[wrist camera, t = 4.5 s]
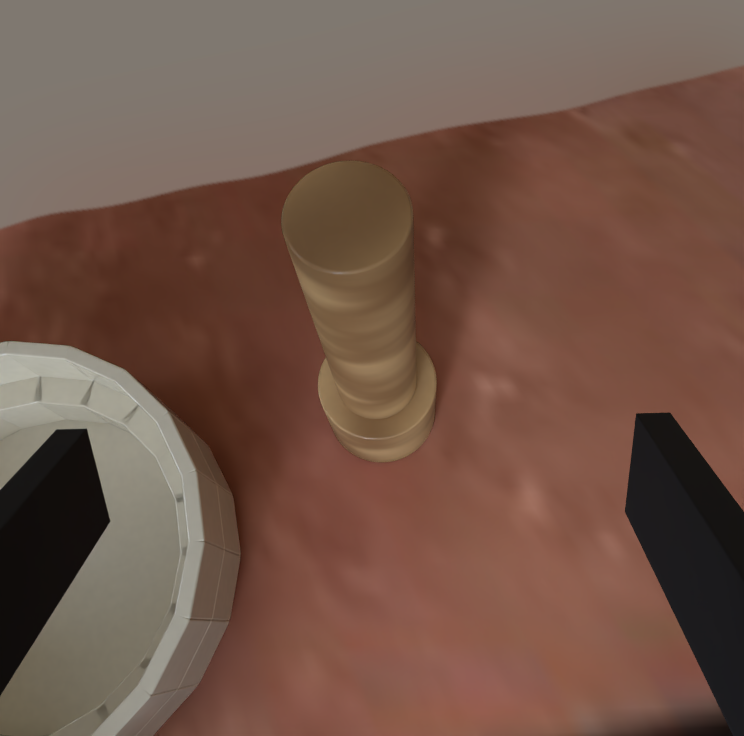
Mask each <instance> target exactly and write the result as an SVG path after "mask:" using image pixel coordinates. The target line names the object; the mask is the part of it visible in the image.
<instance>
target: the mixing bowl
mask: <svg viewBox="0 0 744 736" xmlns="http://www.w3.org/2000/svg"><path fill="white" fill-rule="evenodd" d="M56 429H87V431H88V435H89V439H90V443H91V447H92V451H93V455H94V459H95V462H96V466H97V470H98V474H99V478H100V482H101V486H102V490H103V494H104V498H105V502H106V506H107V510H108V514H109V518H110V523H109V524H108V526H107V528H106V529H105V531H104V532H103V534H102V536H101V537H100V539H99V540H98V542H97V543H96V545H95V547H94V548H93V550H92V551H91V553H90V555H89V556H88V558H87V559H86V561H85V562H84V564H83V566H82V567H81V569H80V570H79V572H78V574H77V575H76V577H75V578H74V580H73V582H72V583H71V585H70V586H69V588H68V589H67V591H66V593H65V594H64V596H63V597H62V599H61V601H60V602H59V604H58V605H57V607H56V608H55V610H54V612H53V613H52V615H51V616H50V618H49V620H48V621H47V623H46V624H45V626H44V627H43V629H42V631H41V632H40V634H39V635H38V637H37V639H36V640H35V642H34V643H33V645H32V646H31V648H30V650H29V651H28V653H27V654H26V656H25V658H24V659H23V661H22V662H21V664H20V666H19V667H18V669H17V670H16V672H15V673H14V675H13V677H12V678H11V680H10V681H9V683H8V685H7V686H6V688H5V689H4V691H3V692H2V694H1V696H0V736H153V735H154V734H155V733H156V732H157V731H158V730H159V728H160V727H161V726H162V725H163V724H164V723H165V722H166V721H167V720H168V718H169V717H170V716H171V715H172V714H173V713H174V712H175V711H176V710H177V708H178V707H179V706H180V705H181V704H182V703H183V702H184V701H185V700H186V698H187V697H188V696H189V695H190V694H191V693H192V692H193V691H194V690H195V688H196V687H197V686H198V684H199V683H200V681H201V679H202V677H203V675H204V673H205V671H206V669H207V667H208V665H209V663H210V661H211V659H212V657H213V655H214V653H215V651H216V648H217V646H218V644H219V642H220V640H221V638H222V636H223V634H224V632H225V630H226V628H227V626H228V624H229V620H230V617H231V611H232V605H233V599H234V594H235V588H236V582H237V576H238V570H239V564H240V558H241V557H240V555H241V551H240V544H239V536H238V529H237V521H236V514H235V506H234V499H233V496H232V492H231V490H230V488H229V486H228V484H227V482H226V480H225V478H224V476H223V474H222V472H221V470H220V468H219V466H218V464H217V462H216V460H215V458H214V456H213V454H212V452H211V450H210V448H209V446H208V445H207V444H206V443H205V442H204V441H203V440H202V439H201V438H200V437H199V436H198V435H197V434H196V433H195V432H194V431H193V430H192V429H191V428H190V427H189V426H188V425H187V424H186V423H185V422H184V421H183V420H181V419H180V418H179V417H178V416H177V415H176V414H175V413H174V412H173V411H172V410H171V409H170V408H169V407H168V406H167V405H165V404H164V403H163V402H162V401H161V400H160V399H159V398H157V397H156V396H155V395H154V394H153V393H152V392H151V391H149V390H148V389H147V388H146V387H145V386H144V385H143V384H141V383H140V382H139V381H138V380H137V379H136V378H135V377H134V376H132V375H131V374H130V373H129V372H128V371H127V370H125V369H123V368H121V367H119V366H116V365H114V364H112V363H110V362H107V361H105V360H103V359H100V358H98V357H96V356H93V355H91V354H89V353H87V352H84V351H82V350H80V349H77V348H75V347H73V346H69V345H56V344H44V343H31V342H19V341H5V342H1V343H0V490H1V488H2V487H3V486H4V485H5V484H6V483H7V482H8V481H9V480H10V479H11V478H12V477H13V476H14V475H15V473H16V472H17V471H18V470H19V469H20V468H21V467H22V466H23V465H24V464H25V463H26V462H27V461H28V459H29V458H30V457H31V456H32V455H33V454H34V453H35V452H36V451H37V450H38V449H39V448H40V447H41V445H42V444H43V443H44V442H45V441H46V440H47V439H48V438H49V437H50V436H51V435H52V434H53V433H54V432H55V430H56Z"/></svg>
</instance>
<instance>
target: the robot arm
mask: <svg viewBox="0 0 744 736" xmlns="http://www.w3.org/2000/svg"><path fill="white" fill-rule="evenodd" d="M625 513H626V515H627V517H628V519H629V521H630V523H631V525H632V527H633V529H634V531H635V533H636V536H637V538H638V540H639V542H640V544H641V546H642V548H643V550H644V552H645V554H646V556H647V558H648V560H649V562H650V564H651V567H652V569H653V571H654V573H655V575H656V577H657V579H658V581H659V583H660V585H661V587H662V589H663V591H664V593H665V595H666V598H667V600H668V602H669V604H670V606H671V608H672V610H673V612H674V614H675V616H676V618H677V620H678V622H679V624H680V626H681V629H682V631H683V633H684V635H685V637H686V639H687V641H688V643H689V645H690V647H691V649H692V651H693V653H694V655H695V657H696V660H697V662H698V664H699V666H700V668H701V670H702V672H703V674H704V676H705V678H706V680H707V682H708V684H709V686H710V689H711V691H712V693H713V695H714V697H715V699H716V701H717V703H718V705H719V707H720V709H721V711H722V713H723V715H724V717H725V720H726V722H727V724H728V726H729V728H730V730H731V732H732V734H733V736H744V512H743V510H742V509H741V507H740V506H739V505H738V503H737V502H736V501H735V499H734V498H733V497H732V495H731V494H730V493H729V491H728V490H727V489H726V487H725V486H724V485H723V483H722V482H721V481H720V479H719V478H718V477H717V475H716V474H715V473H714V471H713V470H712V468H711V467H710V466H709V464H708V463H707V462H706V460H705V459H704V458H703V456H702V455H701V454H700V452H699V451H698V450H697V448H696V447H695V446H694V444H693V443H692V442H691V440H690V439H689V438H688V436H687V435H686V434H685V432H684V431H683V430H682V428H681V427H680V425H679V424H678V423H677V421H676V420H675V419H674V417H673V416H672V415H671V413H641V414H636V420H635V429H634V438H633V446H632V455H631V464H630V472H629V481H628V490H627V498H626V507H625ZM109 523H110V518H109V514H108V510H107V506H106V502H105V498H104V494H103V490H102V486H101V482H100V478H99V474H98V470H97V466H96V462H95V459H94V455H93V451H92V447H91V443H90V439H89V435H88V431H87V429H56V430H55V432H54V433H53V434H52V435H51V436H50V437H49V438H48V439H47V440H46V441H45V442H44V443H43V444H42V445H41V447H40V448H39V449H38V450H37V451H36V452H35V453H34V454H33V455H32V456H31V457H30V458H29V459H28V461H27V462H26V463H25V464H24V465H23V466H22V467H21V468H20V469H19V470H18V471H17V472H16V473H15V475H14V476H13V477H12V478H11V479H10V480H9V481H8V482H7V483H6V484H5V485H4V486H3V487H2V488H1V490H0V696H1V694H2V692H3V691H4V689H5V688H6V686H7V685H8V683H9V681H10V680H11V678H12V677H13V675H14V673H15V672H16V670H17V669H18V667H19V666H20V664H21V662H22V661H23V659H24V658H25V656H26V654H27V653H28V651H29V650H30V648H31V646H32V645H33V643H34V642H35V640H36V639H37V637H38V635H39V634H40V632H41V631H42V629H43V627H44V626H45V624H46V623H47V621H48V620H49V618H50V616H51V615H52V613H53V612H54V610H55V608H56V607H57V605H58V604H59V602H60V601H61V599H62V597H63V596H64V594H65V593H66V591H67V589H68V588H69V586H70V585H71V583H72V582H73V580H74V578H75V577H76V575H77V574H78V572H79V570H80V569H81V567H82V566H83V564H84V562H85V561H86V559H87V558H88V556H89V555H90V553H91V551H92V550H93V548H94V547H95V545H96V543H97V542H98V540H99V539H100V537H101V536H102V534H103V532H104V531H105V529H106V528H107V526H108V524H109Z"/></svg>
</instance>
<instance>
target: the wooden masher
mask: <svg viewBox="0 0 744 736" xmlns="http://www.w3.org/2000/svg"><path fill="white" fill-rule="evenodd" d="M281 227H282V233H283V236H284V239H285V242H286V245H287V248H288V251H289V254H290V256H291V259H292V262H293V265H294V268H295V271H296V274H297V276H298V279H299V282H300V285H301V288H302V291H303V293H304V296H305V299H306V302H307V305H308V308H309V311H310V313H311V316H312V319H313V322H314V325H315V328H316V330H317V333H318V336H319V339H320V342H321V345H322V348H323V350H324V353H325V356H326V358H325V359H324V361H323V364H322V366H321V369H320V372H319V377H318V393H319V398H320V402H321V405H322V407H323V409H324V411H325V414H326V416H327V418H328V420H329V423H330V425H331V427H332V429H333V432H334V434H335V436H336V438H337V439H338V441H339V442H340V443H341V444H342V446H343V447H344V448H345V449H347V450H348V451H349V452H350V453H352V454H353V455H355V456H357V457H359V458H361V459H364V460H367V461H372V462H391V461H396V460H399V459H402V458H404V457H406V456H408V455H410V454H411V453H413V452H414V451H416V450H417V449H418V448H419V447H420V446H421V445H422V444H423V443H424V441H425V440H426V439H427V437H428V435H429V434H430V432H431V429H432V426H433V423H434V418H435V404H436V388H437V379H436V372H435V368H434V365H433V362H432V360H431V358H430V356H429V355H428V353H427V352H426V350H425V349H424V348H423V347H422V346H421V345H420V344H419V343H418V342H417V341H416V320H415V271H414V222H413V207H412V202H411V199H410V196H409V194H408V192H407V190H406V189H405V187H404V186H403V185H402V183H401V182H400V181H399V180H398V179H397V178H396V177H395V176H394V175H393V174H391V173H390V172H388V171H387V170H385V169H383V168H382V167H379V166H377V165H374V164H371V163H367V162H362V161H339V162H334V163H330V164H327V165H324V166H321V167H319V168H317V169H315V170H313V171H311V172H310V173H308V174H307V175H306V176H304V177H303V178H302V179H301V180H300V181H299V182H298V183H297V184H296V185H295V186H294V187H293V189H292V190H291V192H290V193H289V195H288V197H287V199H286V201H285V204H284V207H283V210H282V216H281Z"/></svg>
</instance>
